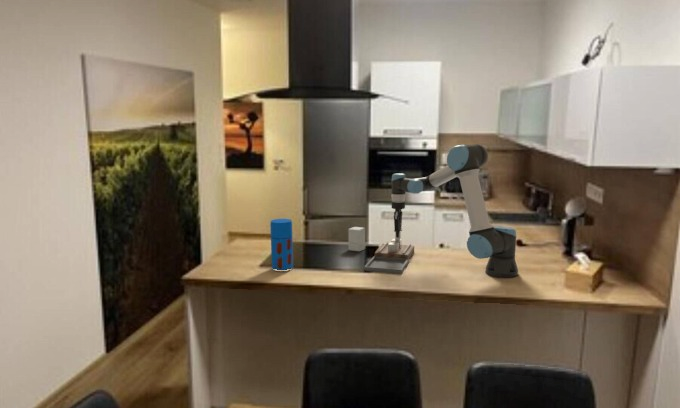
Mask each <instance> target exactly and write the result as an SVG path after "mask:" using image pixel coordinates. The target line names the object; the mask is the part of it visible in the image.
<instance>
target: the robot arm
mask: <svg viewBox="0 0 680 408" xmlns="http://www.w3.org/2000/svg"><path fill="white" fill-rule="evenodd" d="M488 159H489V153H488V150H487V149H486V147H484V146H483V145H481V144H478V143H475V144H460V145H455V146H453V147H451V148H450V149H449V151H448V153H447V155H446V164H447V165H446V166H444V167H442V168H440V169H439V170H436V171H435V172H433V173H431V174H430V175H427V176H425V177H417V178H408V177H406V174H405V173H402V172H401V173H400V172H399V173H393V174H392V175H391V195H390V197H391V208H392V209H393V210H394V212H393V224H394V230H393V232H395V236H394V239H401V240H402V238H401V237H402V235H401V232H402V231H403V229H402V225H403V222H402V221H403V213H404V212H403V211H402V210H404V209H406V202H405V201H406V193H408V194H409V193H410V194H416V195H417V194H420V193H421V192H429V191H434V190H435V191H436V190H437V189H438V188H439V186H441V185H443V184H445V183H447V182H449V181H451V180H453V179H455V178H458V180H459V183H460V186H461V191H462V197H463V200H464V203H465V204H464V205H465V208H466V212H467V216H468V220H469V224H470V229H469V231H468V233H469V237H468V238H467V240H466V247H467V251H468V252H469V254H470V255H472V256H473V257H474V258H476V259H479V260H481V259H488V260H487V263H486V266H485V274H487V275H488V276H491V277H494V278H500V279H501V278H504V279H508V278H509V279H510V278H515V277H517V276H518V275H519V268H518V265H517V261H516V245H517V230H516V229H515V228H513V227H508V226H502V225H492V224H491V223H490V219H489V216H488V212H487V207H486V203H485V198H484V196H483V191H482V187H481V183H480V178H479V172H480V168H482V167H484V166H485V165H486V164H487V162H488Z"/></svg>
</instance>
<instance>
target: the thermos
mask: <svg viewBox="0 0 680 408" xmlns="http://www.w3.org/2000/svg"><path fill="white" fill-rule="evenodd" d="M269 226H270V246H271V247H270V251H271V252H270V253H271V269H272V268H273V269H277V270H287V269H291V268H293V269H294V251H293V250H294V248H293V247H294V246H293V223H292V219H290V218H274V219H272V220H270V225H269Z"/></svg>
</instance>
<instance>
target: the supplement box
mask: <svg viewBox="0 0 680 408" xmlns="http://www.w3.org/2000/svg"><path fill="white" fill-rule="evenodd" d="M365 249H366V228H365V227H361V226H360V227H359V226H353V227H350V228H348V251H355V252H361V251H363V250H365Z"/></svg>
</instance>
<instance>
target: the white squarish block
mask: <svg viewBox="0 0 680 408" xmlns="http://www.w3.org/2000/svg"><path fill="white" fill-rule="evenodd" d="M390 242H392V243H399V249H400V248H401V247H402V245H403V244H402V242H403V240H402V238H401V239H395V238H392V239H391V241H390Z"/></svg>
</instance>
